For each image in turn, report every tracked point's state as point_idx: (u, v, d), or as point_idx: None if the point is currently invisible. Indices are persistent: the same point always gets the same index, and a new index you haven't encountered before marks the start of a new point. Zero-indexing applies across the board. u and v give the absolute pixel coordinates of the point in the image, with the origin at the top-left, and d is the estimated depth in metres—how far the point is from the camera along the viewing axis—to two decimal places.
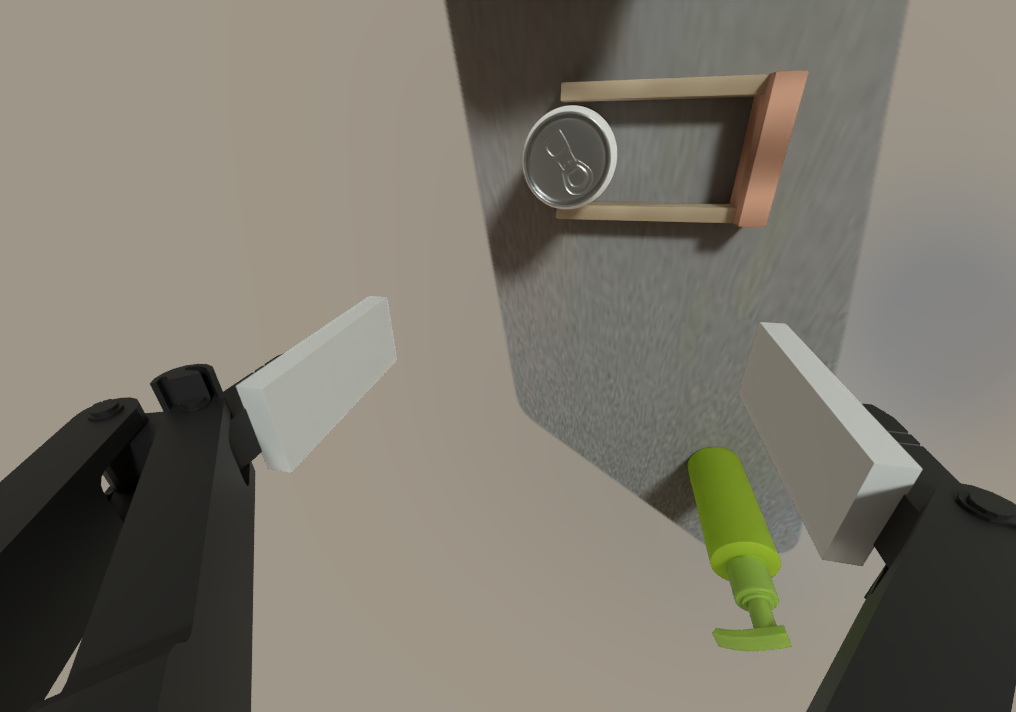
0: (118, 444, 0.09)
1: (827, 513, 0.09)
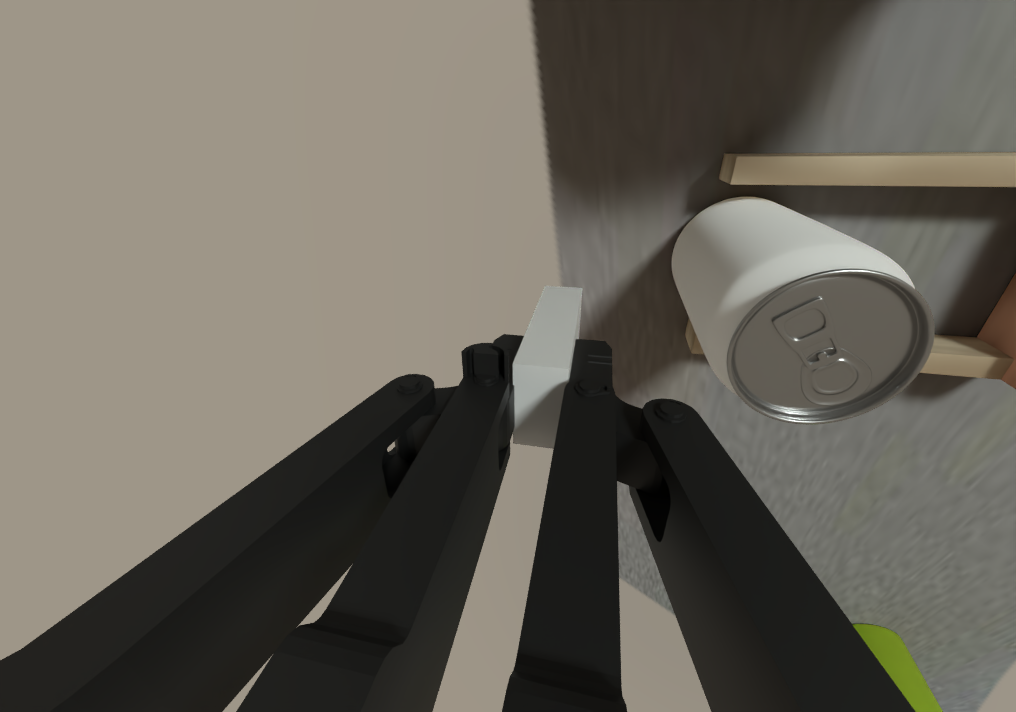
0: (405, 424, 0.09)
1: None
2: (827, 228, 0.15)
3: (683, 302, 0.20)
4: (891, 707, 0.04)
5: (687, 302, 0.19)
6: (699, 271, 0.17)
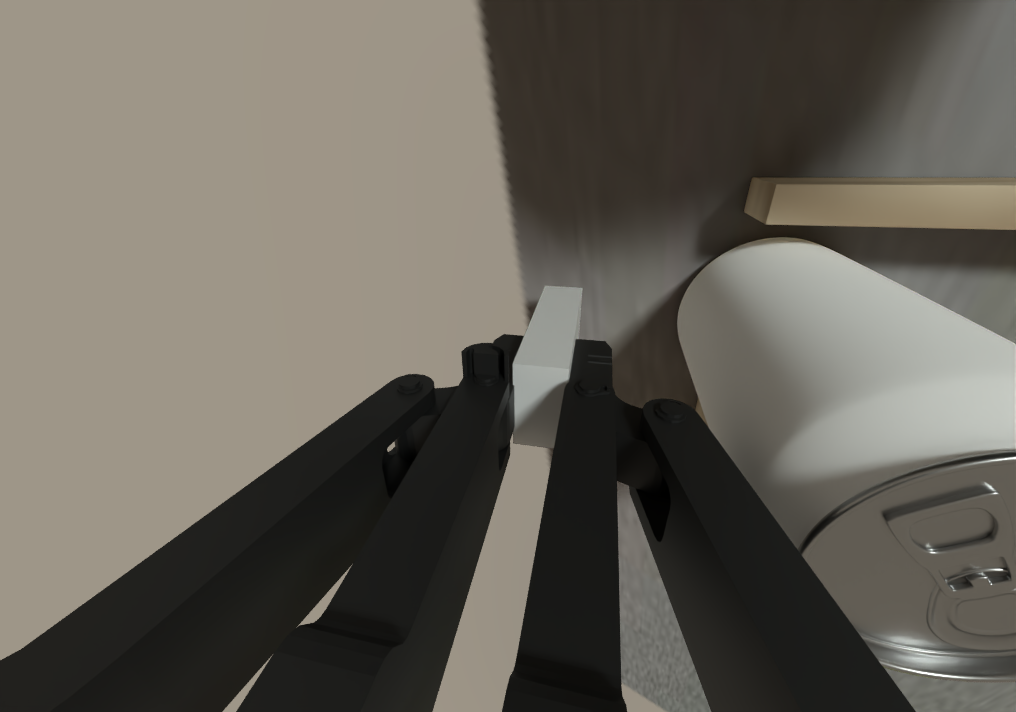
0: (406, 424, 0.09)
1: None
2: (959, 320, 0.08)
3: (697, 393, 0.14)
4: (889, 707, 0.04)
5: (705, 404, 0.12)
6: (725, 367, 0.11)
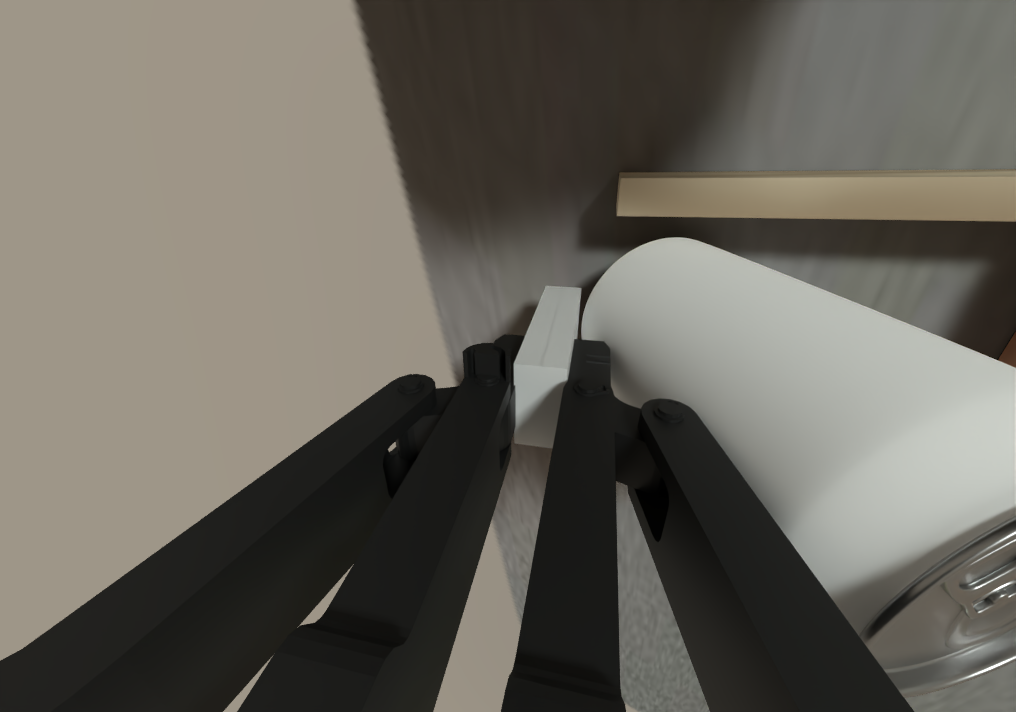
0: (407, 424, 0.09)
1: None
2: (897, 322, 0.08)
3: None
4: (886, 706, 0.04)
5: None
6: (680, 400, 0.10)
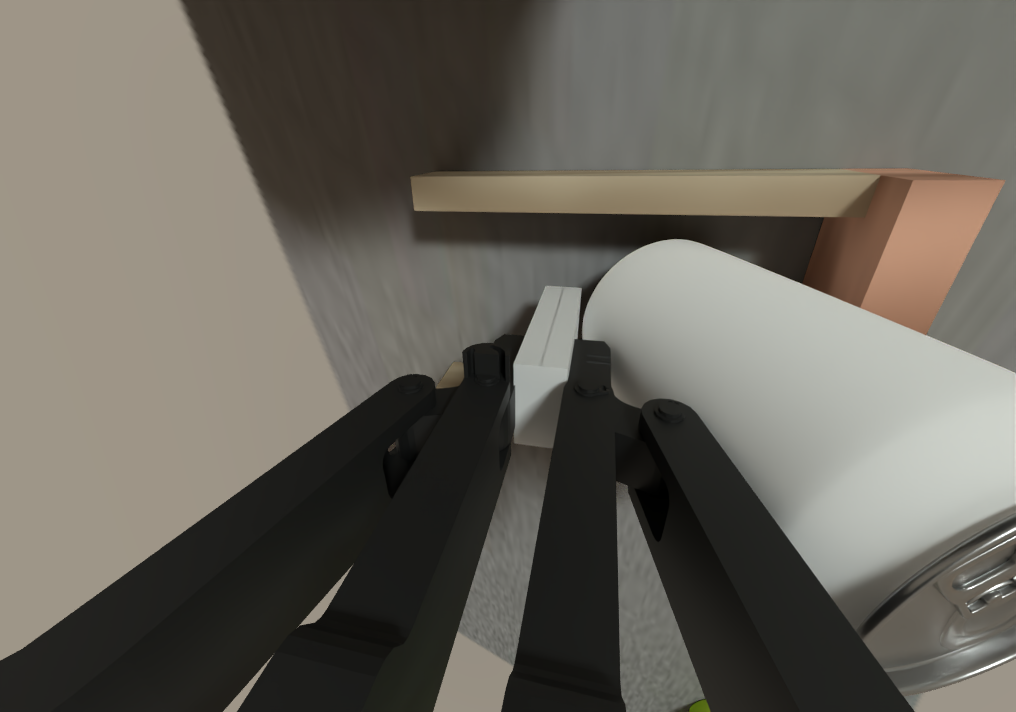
0: (406, 424, 0.09)
1: None
2: (894, 325, 0.08)
3: None
4: (888, 707, 0.04)
5: None
6: (679, 401, 0.10)
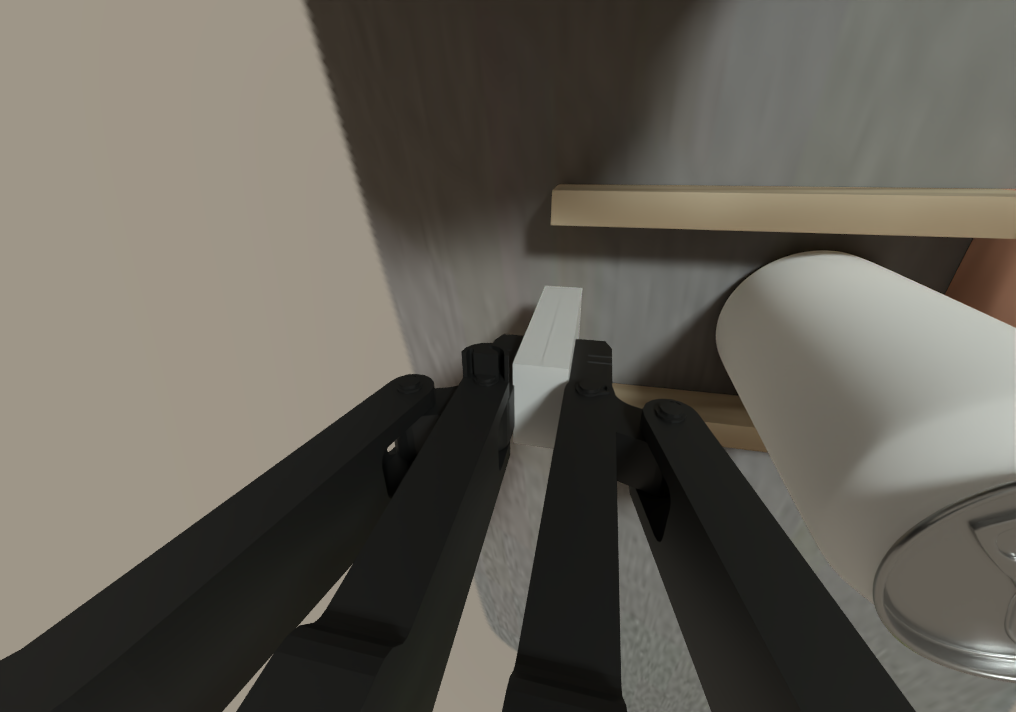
0: (406, 424, 0.09)
1: None
2: None
3: (744, 403, 0.14)
4: (889, 708, 0.04)
5: (759, 415, 0.13)
6: (784, 379, 0.11)
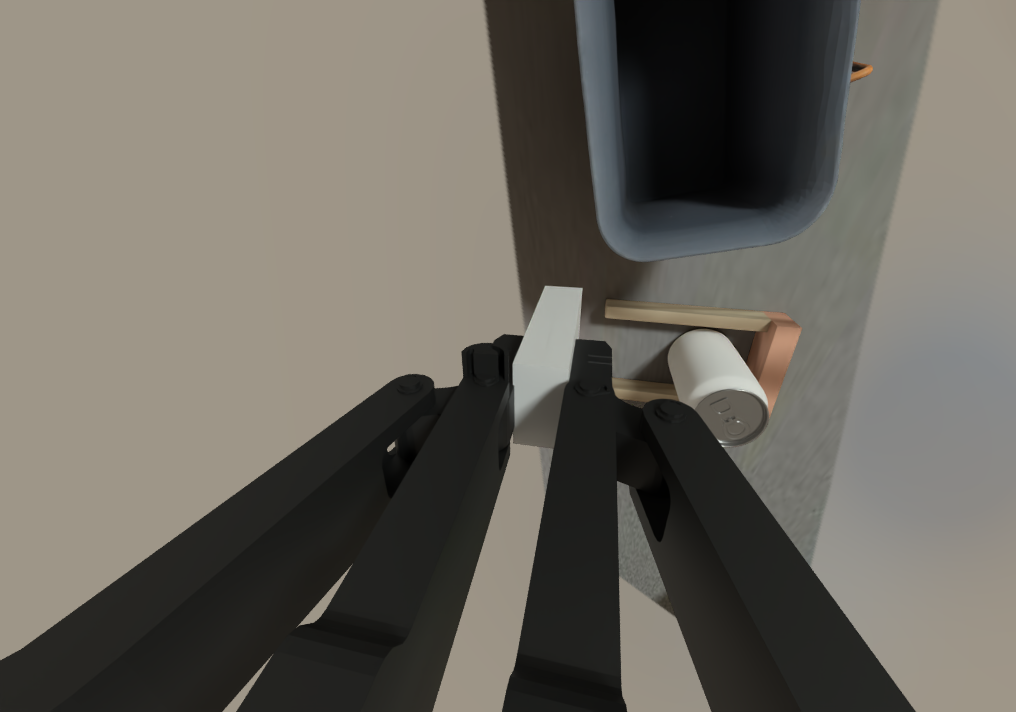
0: (406, 424, 0.09)
1: None
2: (734, 363, 0.35)
3: (674, 384, 0.40)
4: (890, 708, 0.04)
5: (676, 387, 0.39)
6: (681, 375, 0.37)
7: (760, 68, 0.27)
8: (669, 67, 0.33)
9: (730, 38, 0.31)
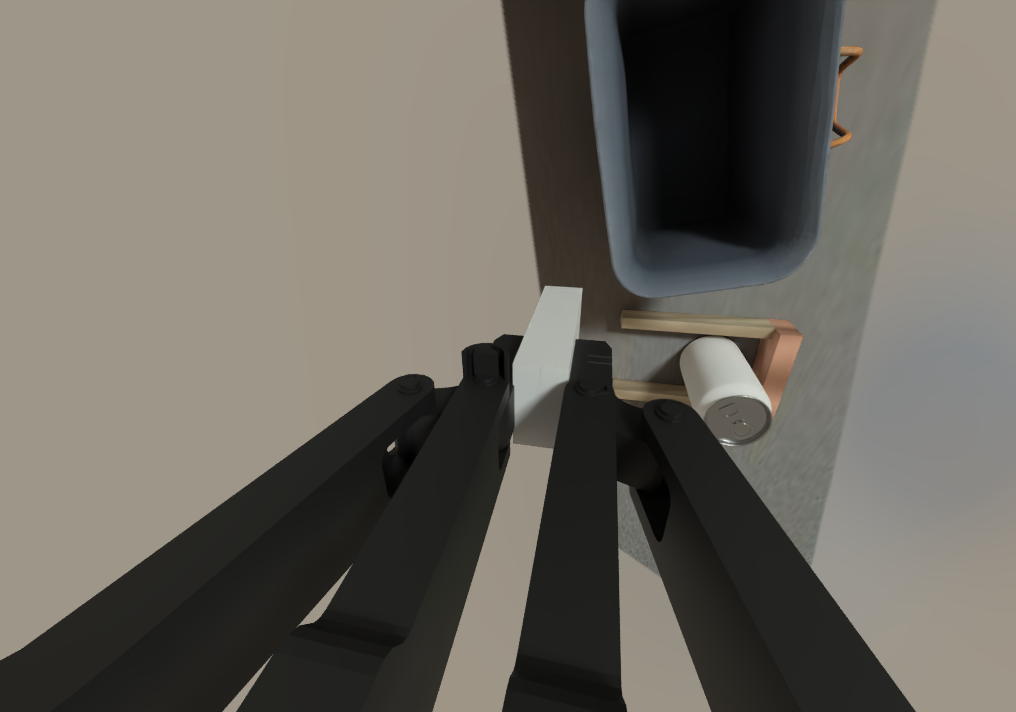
0: (406, 424, 0.09)
1: None
2: (741, 371, 0.38)
3: None
4: (890, 707, 0.04)
5: (688, 391, 0.42)
6: (693, 380, 0.41)
7: (755, 123, 0.30)
8: (675, 111, 0.36)
9: (731, 86, 0.34)
